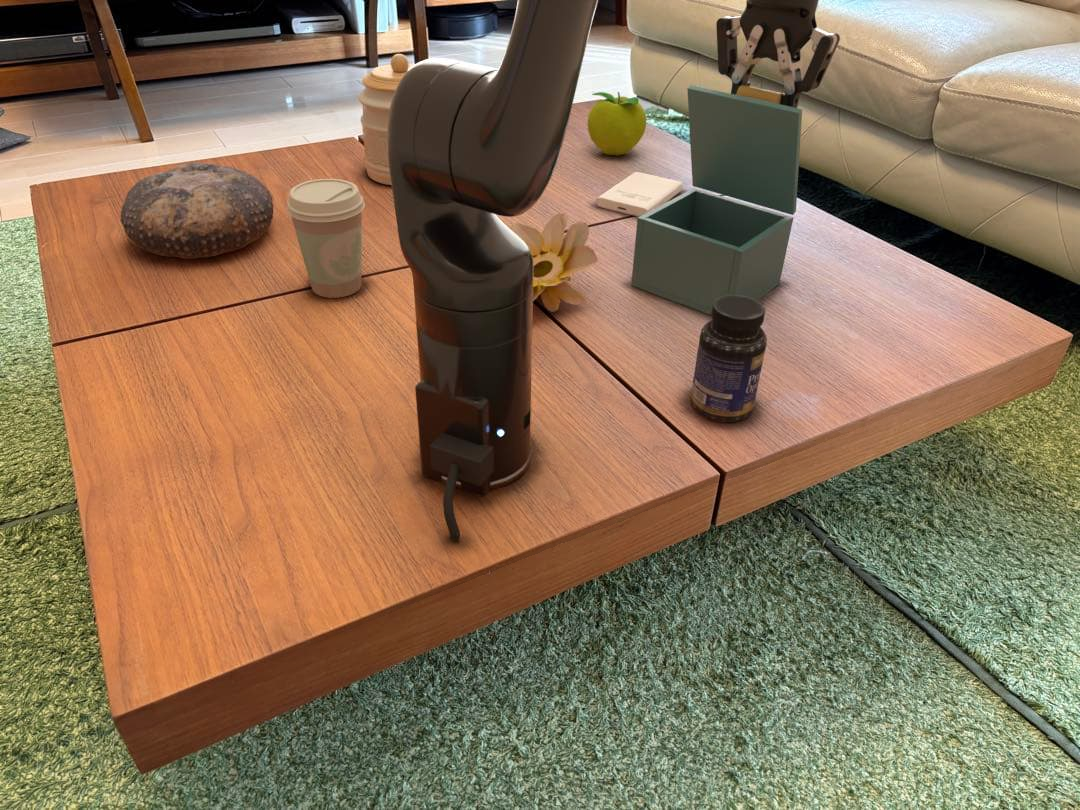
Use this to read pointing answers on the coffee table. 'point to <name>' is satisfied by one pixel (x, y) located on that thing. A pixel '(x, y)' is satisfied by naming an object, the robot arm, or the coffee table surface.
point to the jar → (379, 114)
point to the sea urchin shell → (196, 211)
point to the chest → (709, 249)
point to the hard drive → (639, 194)
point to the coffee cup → (329, 234)
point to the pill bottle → (729, 359)
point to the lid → (745, 145)
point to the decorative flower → (557, 259)
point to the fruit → (616, 123)
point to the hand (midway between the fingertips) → (760, 120)
